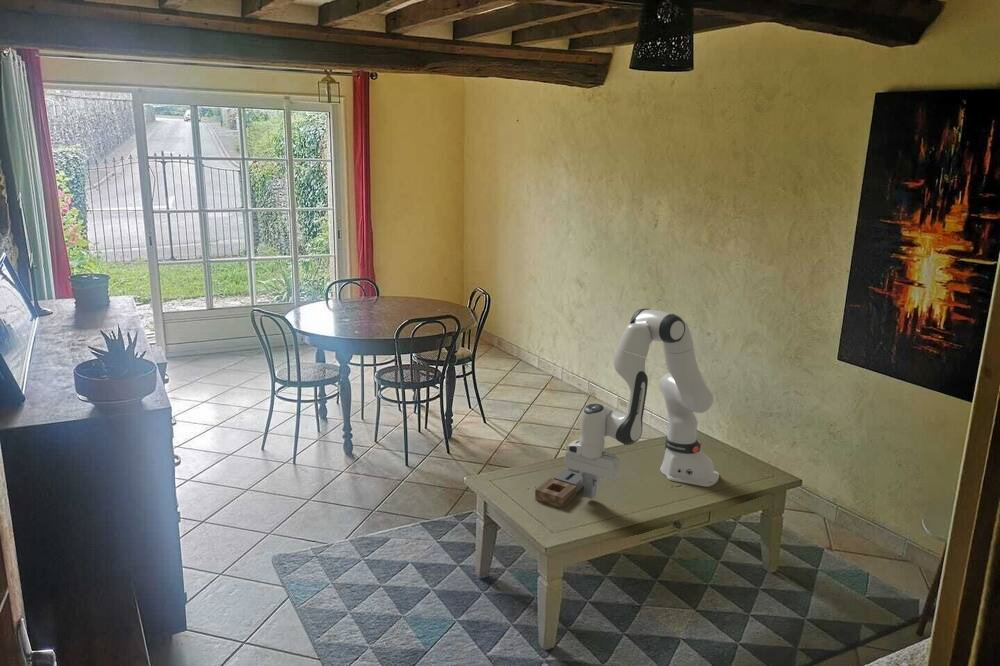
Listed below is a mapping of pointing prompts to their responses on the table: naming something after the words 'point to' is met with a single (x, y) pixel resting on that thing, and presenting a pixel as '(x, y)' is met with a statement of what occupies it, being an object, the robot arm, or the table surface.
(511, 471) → the table surface
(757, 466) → the table surface
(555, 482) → the walnut bore block
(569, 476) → the grey slot block
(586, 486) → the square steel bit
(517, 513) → the table surface
